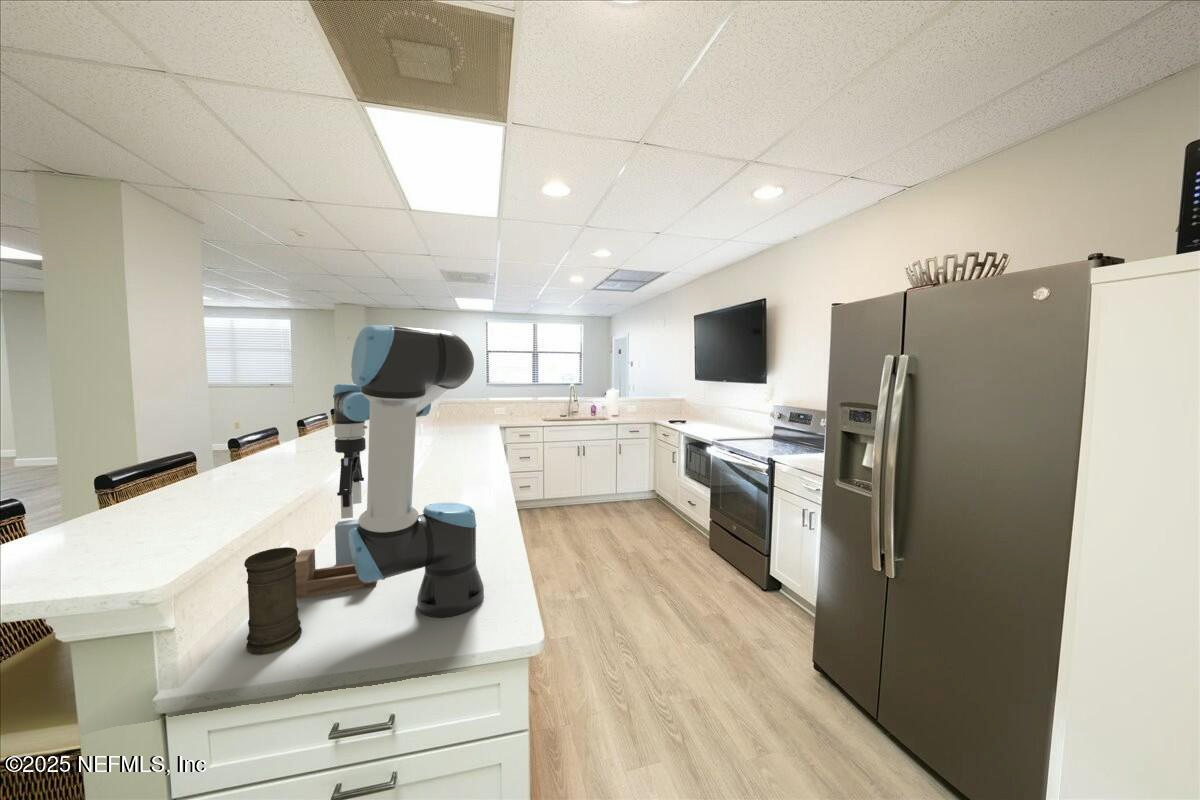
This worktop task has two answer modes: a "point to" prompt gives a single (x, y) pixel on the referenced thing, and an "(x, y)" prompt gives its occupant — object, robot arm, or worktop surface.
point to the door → (344, 542)
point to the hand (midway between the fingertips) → (352, 510)
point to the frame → (324, 577)
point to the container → (272, 601)
